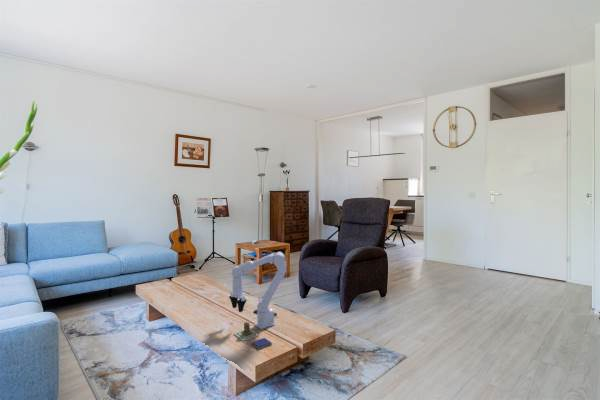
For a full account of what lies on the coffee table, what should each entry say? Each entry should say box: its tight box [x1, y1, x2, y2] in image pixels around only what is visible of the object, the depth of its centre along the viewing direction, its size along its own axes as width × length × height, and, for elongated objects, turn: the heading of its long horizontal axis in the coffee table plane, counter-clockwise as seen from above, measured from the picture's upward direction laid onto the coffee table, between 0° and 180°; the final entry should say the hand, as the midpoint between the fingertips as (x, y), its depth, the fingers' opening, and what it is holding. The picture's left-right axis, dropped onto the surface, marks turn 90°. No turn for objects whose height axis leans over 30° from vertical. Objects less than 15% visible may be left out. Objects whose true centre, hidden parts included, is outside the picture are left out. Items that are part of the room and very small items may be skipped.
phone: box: [253, 309, 278, 317], centre depth 207 cm, size 8×1×15 cm
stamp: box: [241, 321, 252, 336], centre depth 178 cm, size 5×4×6 cm
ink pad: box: [250, 337, 273, 350], centre depth 167 cm, size 8×7×1 cm
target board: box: [233, 328, 260, 342], centre depth 178 cm, size 10×10×1 cm
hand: (237, 309), depth 189 cm, fingers open, 7 cm apart
